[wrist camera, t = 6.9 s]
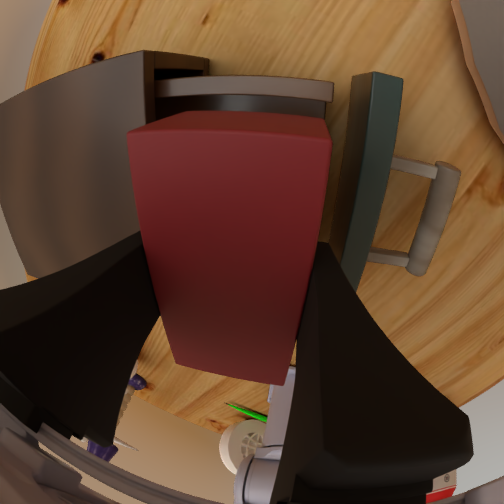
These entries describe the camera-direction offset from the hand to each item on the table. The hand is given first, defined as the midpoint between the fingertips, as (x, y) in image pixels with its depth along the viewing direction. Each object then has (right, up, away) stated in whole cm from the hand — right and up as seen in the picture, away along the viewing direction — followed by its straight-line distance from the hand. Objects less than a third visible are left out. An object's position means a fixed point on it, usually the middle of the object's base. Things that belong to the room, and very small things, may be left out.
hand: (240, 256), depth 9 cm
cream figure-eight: (+6, -31, +31) cm, 45 cm away
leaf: (+2, -24, +28) cm, 37 cm away
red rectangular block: (0, +1, +1) cm, 1 cm away
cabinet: (-9, +7, +9) cm, 15 cm away
